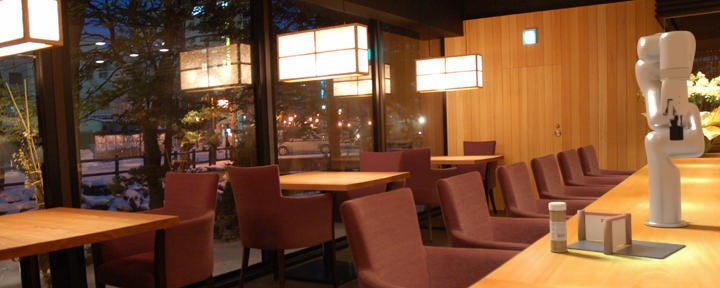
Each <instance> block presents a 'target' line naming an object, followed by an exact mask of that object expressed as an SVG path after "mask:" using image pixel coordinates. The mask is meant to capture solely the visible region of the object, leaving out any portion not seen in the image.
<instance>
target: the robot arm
mask: <svg viewBox="0 0 720 288" xmlns="http://www.w3.org/2000/svg"><path fill="white" fill-rule="evenodd" d="M696 45H697V44H696V38H695V36H694V34H693V33H692V32H691V31H687V30H683V31H682V30H675V31H667V32H658V33H655V34H651V35H647V36H641V37H640V38H639V39H638V42H637V47H636V50H637V56H638V61H636V63H635V67H634V70H635V71H634V73H635V78H636V82H637V85H638V87H639V89H640V91H641V93H642V94H643V95H642V96H643V97H644V102H645V110H646V111H645V112H646V121H647V125H648V127H649V129H650V130H652V131H649V132H648V133H647V134H646V135H645V138H644V147H645V154H646V161H647V171H648V206H649V207H648V209H649V210H648V211H649V213H648V214H649V219H648V218H647V219H645V220H644V225H646V226H648V227H649V226H650V227H655V228H656V227H657V228H683V227H686V226H688V222H687V221H686V220H683V219H682V185H681V183H682V182H681V171H680V169H679V167H678V166H677V165H676V164H675V163H674V162H673V161H672V160H674V159H695V158H699V157H702V156H703V155H704V152H705V148H706V145H705V144H706V142H705V136H704V135H705V134H704V130H703V123H702V117H701V112H700V110H699V108H698V106H697V104H695V103H693V102H689V90H688V87H689V86H688V81H691V74H692V70H693V65H694V59H695V55H696Z"/></svg>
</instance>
